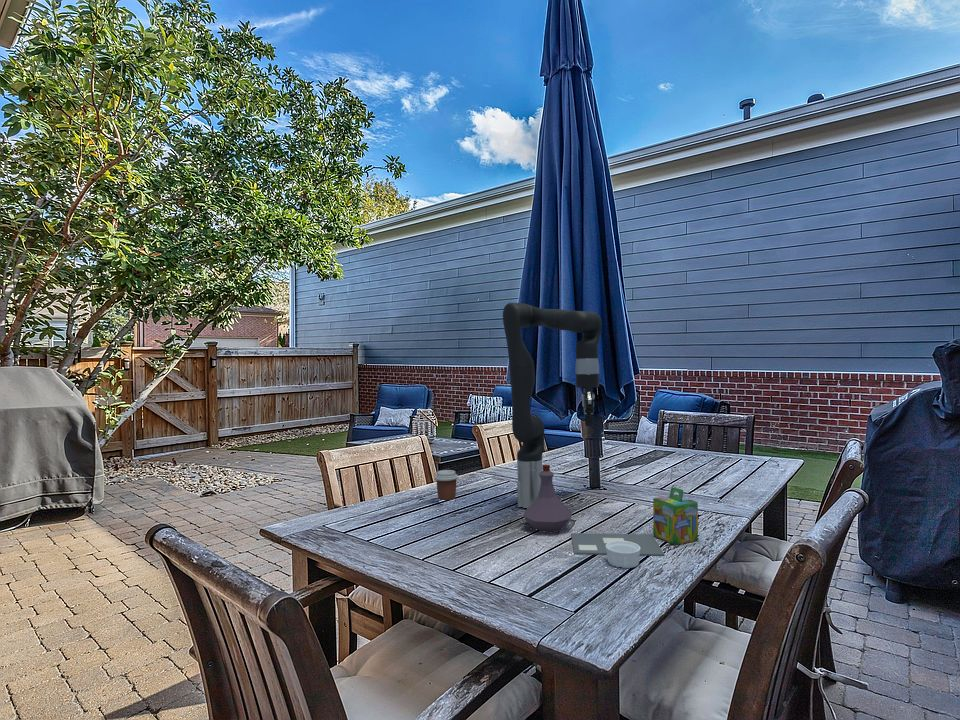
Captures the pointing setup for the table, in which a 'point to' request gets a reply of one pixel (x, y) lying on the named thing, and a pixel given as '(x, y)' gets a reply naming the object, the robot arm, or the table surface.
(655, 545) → the label placard
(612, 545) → the ramekin
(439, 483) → the coffee cup
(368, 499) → the table surface
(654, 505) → the chalk box
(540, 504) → the flask
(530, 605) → the table surface
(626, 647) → the table surface
